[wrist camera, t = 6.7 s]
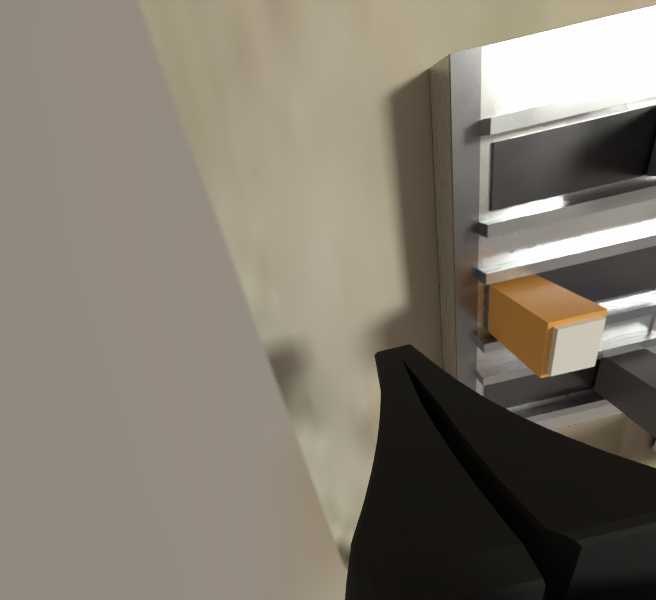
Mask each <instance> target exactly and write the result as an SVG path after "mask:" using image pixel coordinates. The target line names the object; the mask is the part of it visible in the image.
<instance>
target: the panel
mask: <svg viewBox="0 0 656 600" xmlns="http://www.w3.org/2000/svg"><path fill="white" fill-rule="evenodd" d="M429 69H430V90H431V112H432V133H433V154H434V176H435V197H436V218H437V240H438V261H439V282H440V304H441V325H442V346H443V368H444V371H446V372H447V373H448V374H450V375H451V376H453V377H454V378H456V379H457V380H458V381H460V382H462V383H463V384H465V385H466V386H468V387H469V388H471V389H472V390H474V391H476V392H477V393H479V394H480V395H482V396H484V397H485V398H487V399H489V400H491V401H492V402H494V403H496V404H498V405H500V406H502V407H504V408H506V409H507V410H509V411H511V412H513V413H515V414H517V415H519V416H521V417H523V418H525V419H528V420H530V421H532V422H534V423H536V424H539V425H541V426H543V427H545V428H548V429H550V430H552V429H557V428H561V427H565V426H570V425H574V424H578V423H583V422H587V421H591V420H595V419H600V418H604V417H608V416H613V415H617V414H621V413H623V412H621V411H620V410H619V409H618V408H616V407H615V406H614V405H612V404H611V403H610V402H608V401H607V400H606V399H605V398H603V397H602V396H601V395H599V394H598V393H597V392H596V391H594V386H595V381H596V377H597V373H598V369H599V365H600V361H601V359H602V358H606V357H610V356H615V355H619V354H623V353H628V352H632V351H636V350H641V349H647V350H649V351H651V352H653V353H655V354H656V176H646V175H647V171H648V167H649V163H650V159H651V155H652V151H653V147H654V143H655V139H656V6H653V7H648V8H644V9H640V10H636V11H631V12H627V13H623V14H619V15H614V16H610V17H606V18H602V19H598V20H593V21H589V22H585V23H581V24H576V25H572V26H568V27H564V28H559V29H555V30H551V31H547V32H543V33H538V34H534V35H530V36H526V37H521V38H517V39H513V40H509V41H504V42H500V43H496V44H492V45H488V46H483V47H482V46H480V47H476V48H472V49H468V50H463V51H459V52H455V53H451V54H449V55H448V56H446V57H445V58H443V59H442V60H440V61H439V62H437V63H436V64H435V65H433V66H432V67H430V68H429ZM533 274H536V275H538V276H540V277H542V278H544V279H546V280H548V281H550V282H552V283H554V284H557V285H559V286H561V287H563V288H565V289H567V290H569V291H571V292H573V293H575V294H577V295H579V296H582V297H584V298H586V299H588V300H590V301H592V302H594V303H596V304H598V305H600V306H602V307H604V308H607V309H608V310H607V314H606V321H605V326H604V330H603V334H602V338H601V342H600V346H599V351H598V355H597V359H596V363H595V366H594V367H590V368H585V369H581V370H577V371H573V372H568V373H564V374H560V375H555V376H549V377H544V378H539V377H538V376H537V375H536V374H535V373H534V372H533V371H532V370H531V369H529V368H528V367H527V366H526V365H525V364H524V363H523V362H522V361H520V360H519V359H518V358H517V357H516V356H515V355H514V354H513V353H512V352H510V351H509V350H508V349H507V348H506V347H505V346H504V345H503V344H501V343H500V342H499V341H498V340H497V339H496V338H495V337H494V336H493V335H491V334H490V333H489V332H488V311H489V285H491V284H495V283H499V282H503V281H508V280H512V279H516V278H521V277H525V276H529V275H533ZM623 414H624V413H623Z"/></svg>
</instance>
